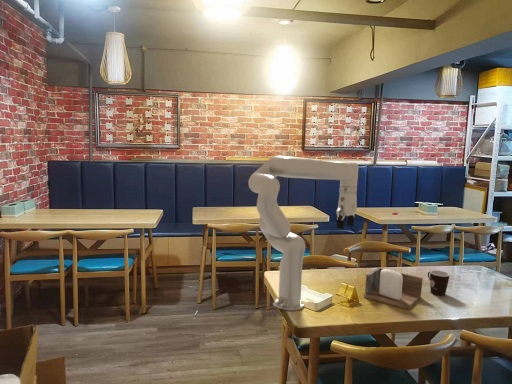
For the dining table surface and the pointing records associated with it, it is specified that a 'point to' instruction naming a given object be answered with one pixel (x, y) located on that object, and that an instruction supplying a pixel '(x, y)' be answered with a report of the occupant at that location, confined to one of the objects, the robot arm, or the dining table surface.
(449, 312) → the dining table surface
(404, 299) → the shelf
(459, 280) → the dining table surface
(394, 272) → the white upright block
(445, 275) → the coffee mug
